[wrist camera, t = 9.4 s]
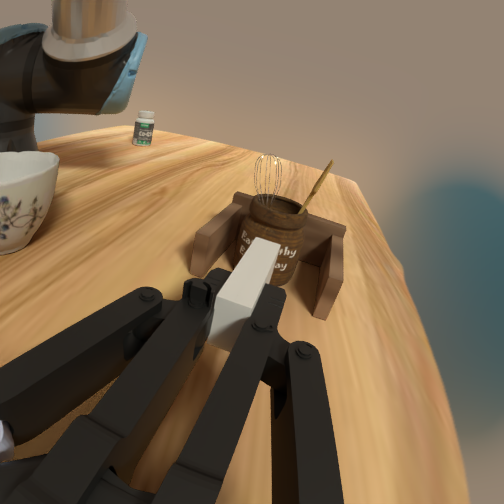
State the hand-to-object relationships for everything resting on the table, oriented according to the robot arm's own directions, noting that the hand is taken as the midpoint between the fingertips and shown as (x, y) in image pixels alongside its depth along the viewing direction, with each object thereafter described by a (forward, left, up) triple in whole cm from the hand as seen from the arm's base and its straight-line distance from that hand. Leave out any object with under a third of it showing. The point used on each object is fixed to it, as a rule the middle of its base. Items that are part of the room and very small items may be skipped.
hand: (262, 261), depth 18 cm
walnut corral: (-8, +5, -6) cm, 12 cm away
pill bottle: (-64, -7, -7) cm, 64 cm away
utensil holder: (-9, +5, -7) cm, 12 cm away
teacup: (-12, -22, -7) cm, 26 cm away
